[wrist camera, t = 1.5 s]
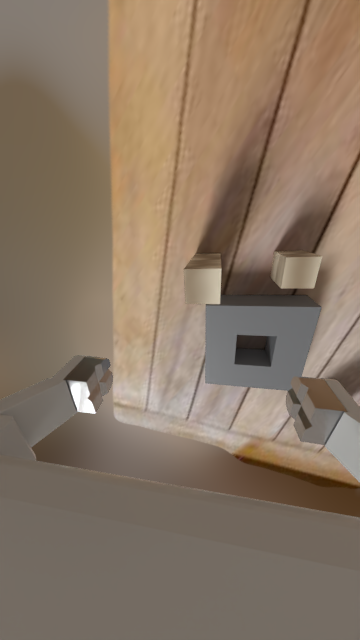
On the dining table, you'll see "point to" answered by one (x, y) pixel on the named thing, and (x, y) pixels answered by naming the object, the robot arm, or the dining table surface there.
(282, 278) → the short pin
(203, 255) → the tall pin
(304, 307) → the socket block
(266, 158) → the dining table surface
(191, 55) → the dining table surface
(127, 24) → the dining table surface
